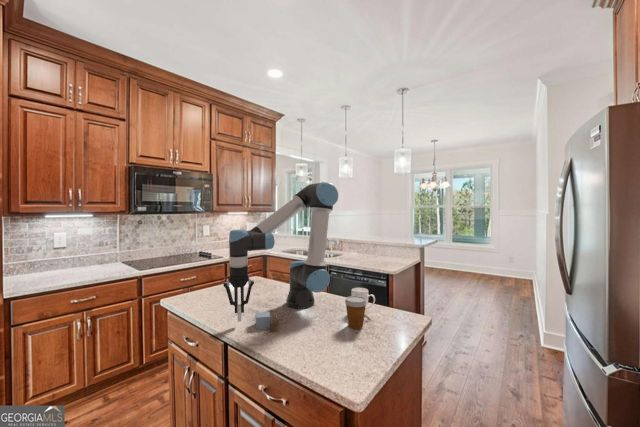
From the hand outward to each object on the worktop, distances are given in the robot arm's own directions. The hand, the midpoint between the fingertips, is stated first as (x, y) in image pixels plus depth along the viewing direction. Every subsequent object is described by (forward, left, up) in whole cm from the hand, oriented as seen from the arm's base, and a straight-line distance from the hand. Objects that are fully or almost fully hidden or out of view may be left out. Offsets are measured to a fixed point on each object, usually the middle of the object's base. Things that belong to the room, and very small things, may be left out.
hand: (239, 320), depth 124 cm
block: (-10, +1, -3) cm, 10 cm away
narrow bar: (-14, 0, -3) cm, 15 cm away
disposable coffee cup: (-49, +9, -3) cm, 50 cm away
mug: (-58, -5, -3) cm, 59 cm away
